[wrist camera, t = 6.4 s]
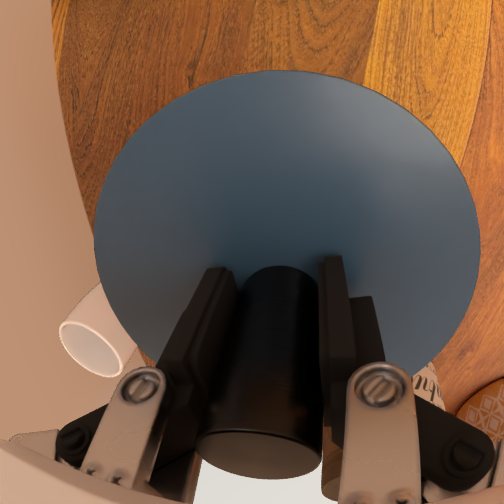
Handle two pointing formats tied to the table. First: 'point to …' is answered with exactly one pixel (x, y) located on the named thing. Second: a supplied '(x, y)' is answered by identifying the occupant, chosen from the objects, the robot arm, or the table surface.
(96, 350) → the drinking glass
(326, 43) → the table surface
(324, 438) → the wooden container
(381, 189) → the pot lid
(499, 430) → the planter
